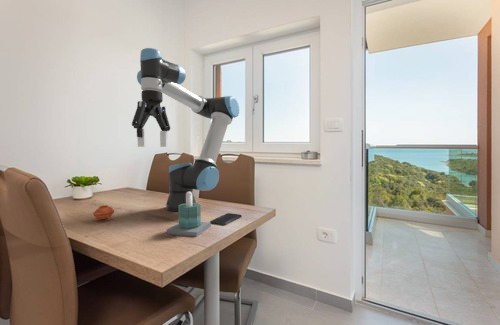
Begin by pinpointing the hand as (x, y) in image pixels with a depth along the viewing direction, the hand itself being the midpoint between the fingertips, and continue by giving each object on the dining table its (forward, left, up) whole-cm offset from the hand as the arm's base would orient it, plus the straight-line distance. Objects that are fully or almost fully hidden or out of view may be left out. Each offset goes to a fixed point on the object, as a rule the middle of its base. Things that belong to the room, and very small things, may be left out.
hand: (153, 146), depth 96 cm
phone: (-16, +24, -32) cm, 43 cm away
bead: (0, +15, -30) cm, 34 cm away
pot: (-3, -28, -32) cm, 43 cm away
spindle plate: (0, +15, -32) cm, 35 cm away
